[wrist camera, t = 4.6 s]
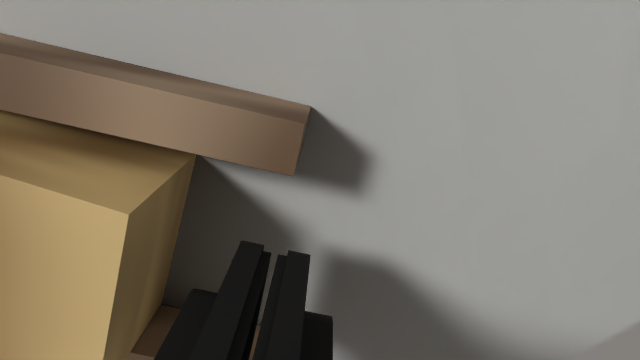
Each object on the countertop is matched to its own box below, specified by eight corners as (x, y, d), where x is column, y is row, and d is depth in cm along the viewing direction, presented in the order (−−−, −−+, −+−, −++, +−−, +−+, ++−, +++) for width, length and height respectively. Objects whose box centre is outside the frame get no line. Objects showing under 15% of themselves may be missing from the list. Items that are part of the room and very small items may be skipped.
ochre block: (199, 151, 11) (129, 214, 7) (164, 298, 13) (94, 409, 9) (-61, 66, 11) (-280, 88, 7) (-59, 232, 12) (-229, 321, 9)
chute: (310, 106, 10) (305, 123, 8) (256, 354, 13) (242, 408, 11) (-171, -7, 10) (-292, -15, 8) (-116, 277, 13) (-193, 320, 11)
